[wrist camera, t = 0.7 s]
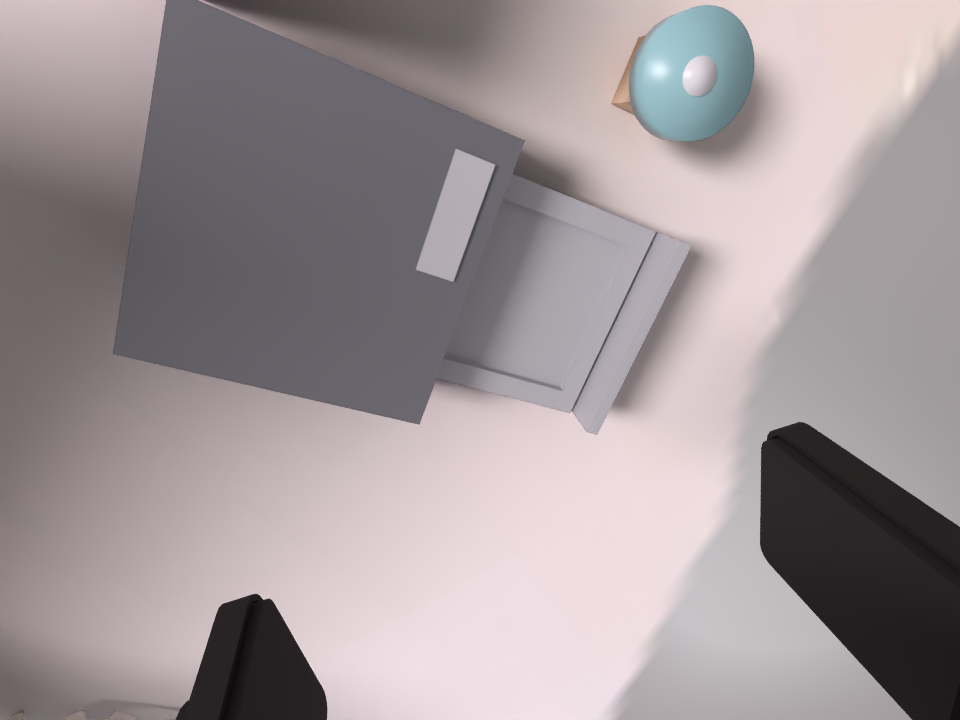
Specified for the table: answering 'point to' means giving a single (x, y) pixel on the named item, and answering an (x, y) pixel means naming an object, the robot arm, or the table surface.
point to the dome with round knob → (691, 74)
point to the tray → (560, 303)
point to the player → (302, 219)
